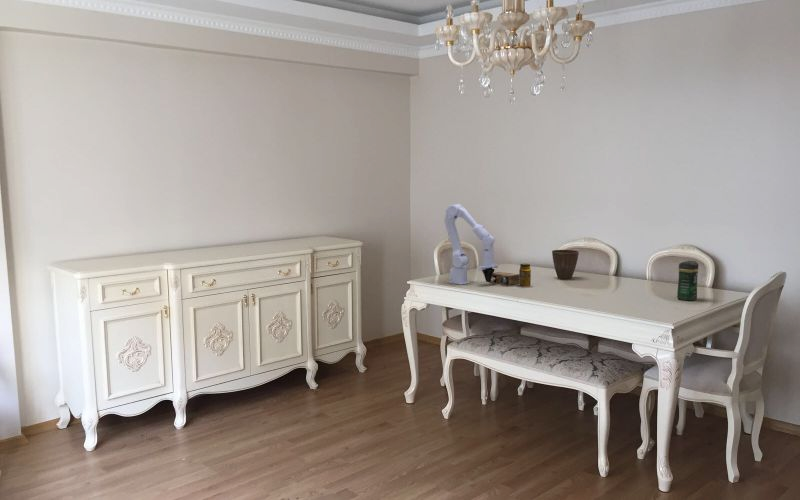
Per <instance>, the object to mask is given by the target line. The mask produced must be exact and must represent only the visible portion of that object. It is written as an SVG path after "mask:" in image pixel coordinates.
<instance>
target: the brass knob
mask: <svg viewBox="0 0 800 500" xmlns="http://www.w3.org/2000/svg"><path fill="white" fill-rule="evenodd" d="M495 280H496V277H493V276H492V277H491V281H490V282H488V283H489V284H491V283H492V282H494V281H495Z"/></svg>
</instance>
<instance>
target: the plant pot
mask: <svg viewBox="0 0 800 500" xmlns="http://www.w3.org/2000/svg"><path fill="white" fill-rule="evenodd" d="M551 253H552V254H551V256H552V261H553V267H554V270H555V271H554V272H555V273H556V276H557V279H559V280H562V281H569V280H571V279H572V278H573V275H574V273H575V270H576V266H577V264H578V259H579V254H580V253H579V250H574V249H573V250H572V249H553V250H552V251H551Z"/></svg>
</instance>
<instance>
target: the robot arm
mask: <svg viewBox="0 0 800 500" xmlns="http://www.w3.org/2000/svg"><path fill="white" fill-rule="evenodd" d="M458 218H459V219H460V218H461V219H463V220H464V221H465V222H466V223H467V224H468V225H469V226H470V227H471V228H472V232H473V233H474V235H475V236H476V237H477V238H478V239H479V240H480V241H481V244H482V265H480V266H478V269H477V270H478V271H481V272H482V274H483V276H484V279H485V282H486V283H489V282H490V281H491V277H492V274H493V273H495V272H496V270H495V268H496V269H498V268H499V265H498V264H497V263H494V262H495V261H494V259H495V258H494V253H495V252H494V244H495V242H496V238H495V236H494V235H493V234H491V233H490V232H488V231H487V230H486V229H485V226H484V225H482V224H478V223H477V222H476V220H475V219H474V218H473V216H472V215H471V214H470V213H469V212H468V211H467V209H466V208H465V207H464V206H463V205H462V204H461V203H456V204H450V205H449V206H447V208H446V210H445V217H444V224H445V228H446V231H447V235H448V238H449V243H450V246H451V249H452V255H451V256H452V262H451V263H452V265H453V266H452V267H451V268H450V269H449V281H448V284H455V285H460V286H461V285H466V284H470V283H471V281H468V266H467V265H468V264H469V258H468V256H467V255H466V252H465V250H463V247H462V243H461V239H460V237H459V233H458V229H457V225H456V220H457V219H458Z"/></svg>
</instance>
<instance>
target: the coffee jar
mask: <svg viewBox="0 0 800 500" xmlns="http://www.w3.org/2000/svg"><path fill="white" fill-rule="evenodd" d="M698 274H699V263H698V262H697V261H696V260H687V261H681V262H679V264H678V282H677V293H676V294H677V295H676V298H677V299H678V300H681V301H689V302H690V301H695V300H696V299H698V278H699V277H698Z"/></svg>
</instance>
